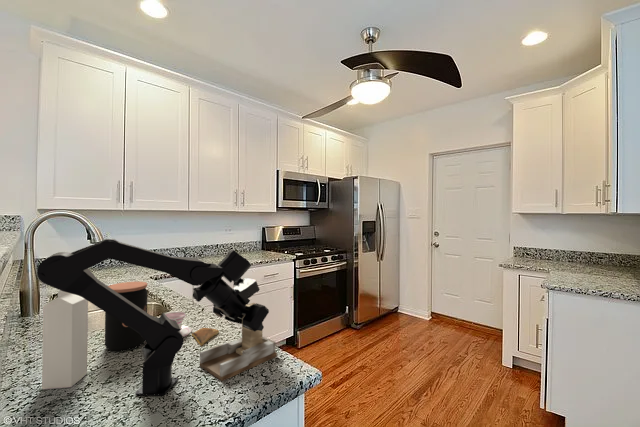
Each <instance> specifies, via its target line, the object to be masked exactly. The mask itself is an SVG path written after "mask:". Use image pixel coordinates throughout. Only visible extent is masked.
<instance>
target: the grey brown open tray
mask: <svg viewBox="0 0 640 427" xmlns="http://www.w3.org/2000/svg"><path fill="white" fill-rule="evenodd" d="M276 344H277V343H276V341H274V340H271V339H269V338H267V337H265V336H263V335H262V344H259V345H256V346H254V347H251V348H249V349H246V350H244V351H243V353H242V354H243V355H239V354H237V353H236V349H237V348H240V347H242V337H240V338H237V339H234V340H232V341H229V342H223V343H221V344H217V345H215V346H212V347H209V348H206V349H204V350H201V351H199V367H200V368H202V369H203V370H205V371H206V372H208V373H209V374H211V376H212V377H215V378H216V379H217V380H219V381H220V382H224V381H227V380H228V379H231V378H233V377H236V376H237V375H239V374H242V373H244V372H246V371H248V370H251V369H252V368H254V367H256V366H258V365H262V364H263V363H266V362H268V361H270V360H272V359H275V358H276V357H278V352H277V351H276V348H277V347H276Z"/></svg>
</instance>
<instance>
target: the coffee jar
mask: <svg viewBox="0 0 640 427" xmlns="http://www.w3.org/2000/svg"><path fill="white" fill-rule="evenodd" d="M107 286H108V287H110V288H111V289H113V290H114V291H116V292H117V293H118V294H120V295H121V296H123V297H124V298H126V299H127V300H129V301H130V302H132V303H133V304H135V305H136V306H138V307H139V308H141V309H142V310H143V311H145V312H146V313H148V290H147V288H148V283H147V281H124V282H118V283H114V284H110V285H107ZM104 314H105V315H104V346H105V348H106V349H107V350H108V351H109V352H115V353H118V352H119V353H120V352H121V353H122V352H127V351H131V350H134V349H137V348H139V347H141V346H143V344H145V342H146V341H145V340H144V339H143V337H142V336H141V335H140V334H139V333H137V332H136V331H134V330H133V329H131V328H130V327H128V326H127V325H125V324H123V323H122V322H120V321H119V320H117V319H116V318H114V317H112V316H111V315H109V314H108V313H106V312H105V311H104Z"/></svg>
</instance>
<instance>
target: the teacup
mask: <svg viewBox="0 0 640 427" xmlns="http://www.w3.org/2000/svg"><path fill="white" fill-rule="evenodd" d="M163 313H164V314H165V315H166V316H167V317H168V318H169V319H171V320H173V321H176V322H177V324H178V326H179V327H180V329H181V330H180V332H181V334H182V336H183V338H184V337H186V336H188V335H190V334H192V331H193V328H192V327H191V326H187V325H183V321H184V318H186V316H187V314H186V312H184V311H180V310H175V311H167V312H163Z"/></svg>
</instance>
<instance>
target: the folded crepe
mask: <svg viewBox="0 0 640 427" xmlns="http://www.w3.org/2000/svg"><path fill="white" fill-rule="evenodd" d="M219 332H220V330H218V329H215V328H210V327H209V328H208V327H201V328H199V329H197V330H196V331H194V332H191V336H192V337H193V338H194V339H195V340H196V342H197V344H198V345H200V346H201V347H202V346H203V345H205V344H206V343H207V342H208V341H209V340H210V339H212V338H213V337H215V336H217V335H218V334H219ZM214 335H215V336H214Z"/></svg>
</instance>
